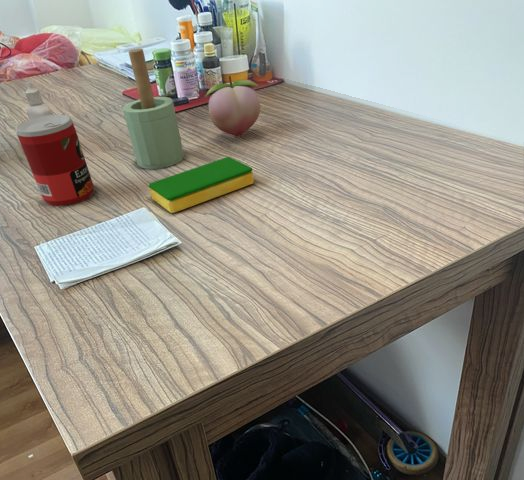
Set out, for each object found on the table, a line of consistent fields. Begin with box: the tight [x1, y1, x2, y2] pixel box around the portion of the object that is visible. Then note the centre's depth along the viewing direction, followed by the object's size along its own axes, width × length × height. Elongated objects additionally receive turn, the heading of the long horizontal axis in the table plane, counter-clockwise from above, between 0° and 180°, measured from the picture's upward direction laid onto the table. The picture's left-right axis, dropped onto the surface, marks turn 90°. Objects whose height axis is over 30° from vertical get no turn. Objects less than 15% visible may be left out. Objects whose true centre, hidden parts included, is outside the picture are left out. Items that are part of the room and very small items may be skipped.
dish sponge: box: [148, 156, 254, 214], centre depth 75 cm, size 7×14×2 cm, turn 124°
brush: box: [128, 48, 156, 109], centre depth 82 cm, size 3×3×16 cm
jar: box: [122, 96, 185, 170], centre depth 85 cm, size 8×8×9 cm
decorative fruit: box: [204, 75, 261, 137], centre depth 90 cm, size 9×8×10 cm
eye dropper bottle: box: [24, 81, 54, 120], centre depth 93 cm, size 4×6×12 cm
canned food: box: [15, 114, 95, 207], centre depth 76 cm, size 8×8×11 cm
